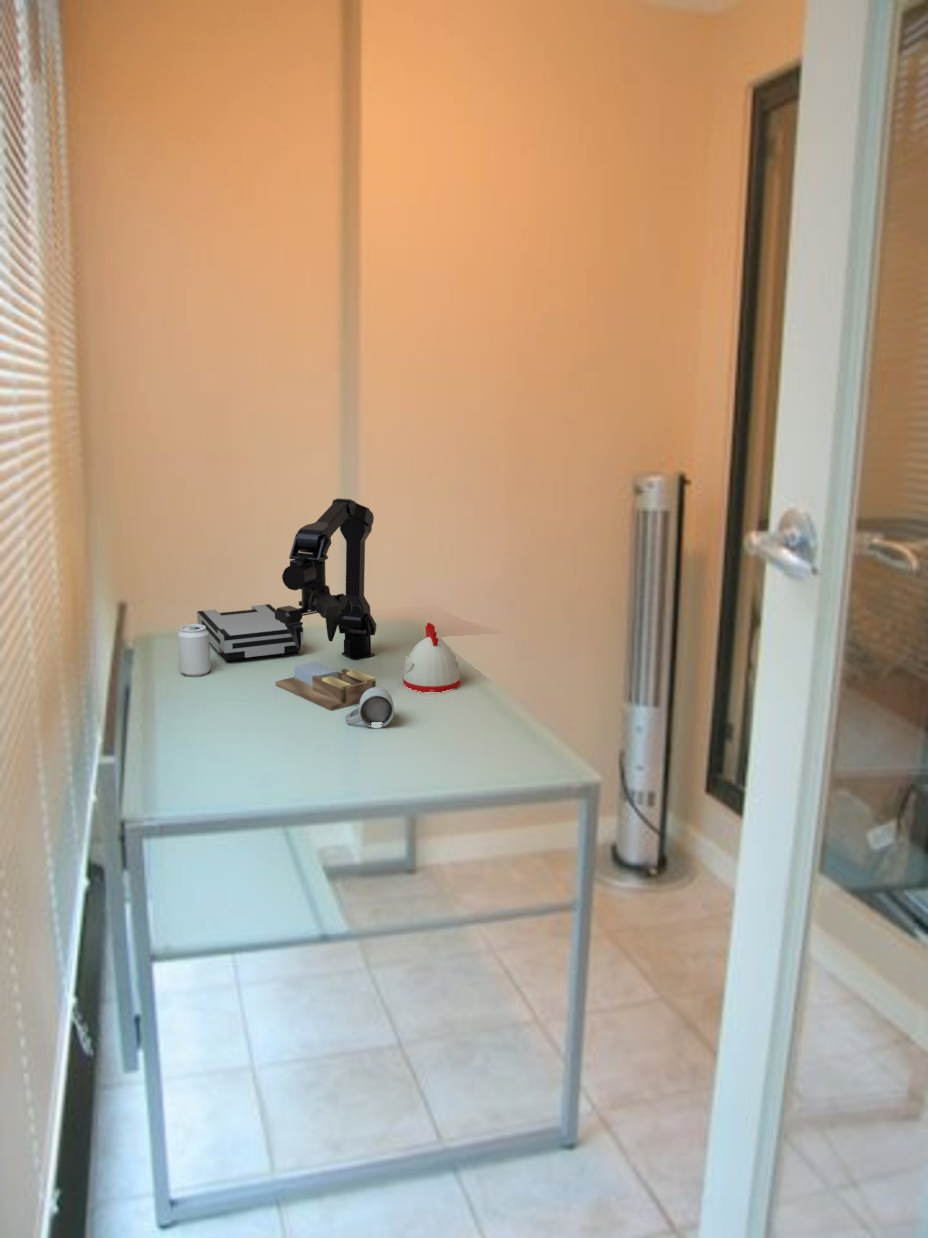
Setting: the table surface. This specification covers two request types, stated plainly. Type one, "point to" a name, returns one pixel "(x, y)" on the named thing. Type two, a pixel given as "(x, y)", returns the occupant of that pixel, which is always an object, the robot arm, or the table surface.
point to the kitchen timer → (431, 665)
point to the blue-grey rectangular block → (313, 671)
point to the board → (331, 688)
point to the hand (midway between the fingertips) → (314, 644)
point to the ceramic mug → (373, 708)
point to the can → (194, 650)
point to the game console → (248, 633)
